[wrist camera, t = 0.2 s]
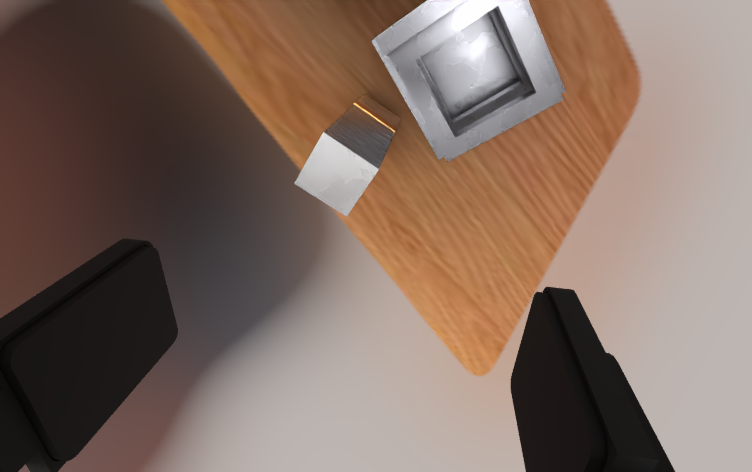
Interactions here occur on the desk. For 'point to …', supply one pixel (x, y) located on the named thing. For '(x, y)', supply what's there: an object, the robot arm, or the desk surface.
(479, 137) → the collar stand
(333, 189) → the silver square metal bar
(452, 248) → the desk surface
